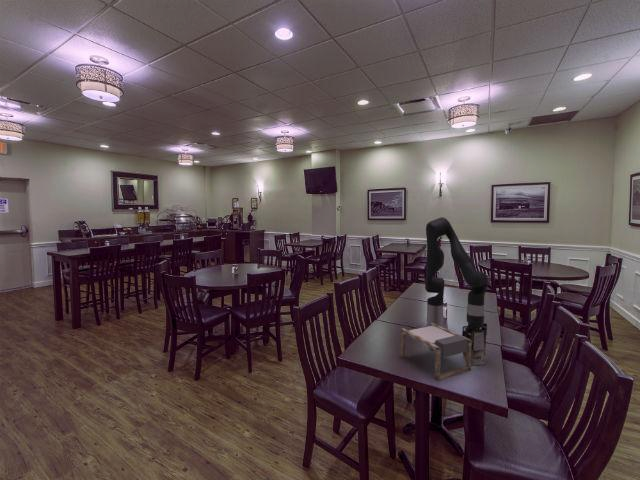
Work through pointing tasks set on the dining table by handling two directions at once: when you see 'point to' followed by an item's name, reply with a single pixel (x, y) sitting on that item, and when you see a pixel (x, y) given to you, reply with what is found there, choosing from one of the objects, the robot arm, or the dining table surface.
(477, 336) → the coffee box
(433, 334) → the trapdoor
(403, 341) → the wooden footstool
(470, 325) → the robot arm
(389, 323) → the dining table surface
